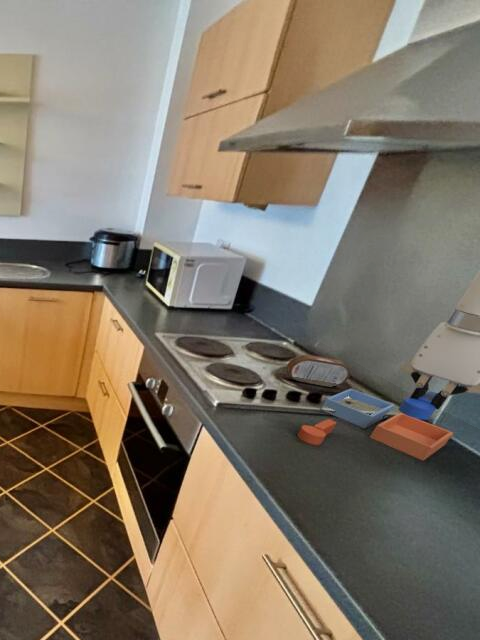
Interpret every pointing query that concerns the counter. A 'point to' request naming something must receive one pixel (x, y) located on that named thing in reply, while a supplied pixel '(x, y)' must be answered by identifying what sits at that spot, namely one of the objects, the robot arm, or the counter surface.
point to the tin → (318, 369)
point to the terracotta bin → (411, 435)
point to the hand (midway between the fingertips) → (422, 406)
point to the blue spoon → (419, 406)
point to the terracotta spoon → (316, 432)
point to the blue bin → (356, 415)
